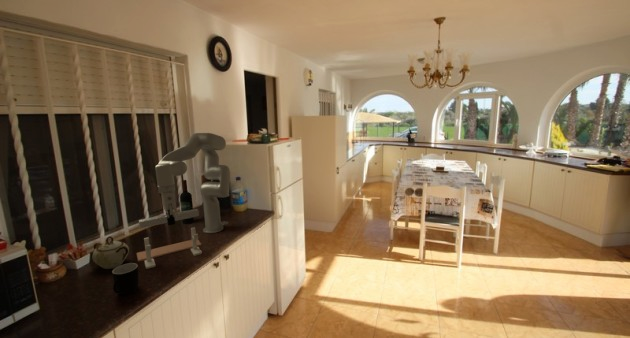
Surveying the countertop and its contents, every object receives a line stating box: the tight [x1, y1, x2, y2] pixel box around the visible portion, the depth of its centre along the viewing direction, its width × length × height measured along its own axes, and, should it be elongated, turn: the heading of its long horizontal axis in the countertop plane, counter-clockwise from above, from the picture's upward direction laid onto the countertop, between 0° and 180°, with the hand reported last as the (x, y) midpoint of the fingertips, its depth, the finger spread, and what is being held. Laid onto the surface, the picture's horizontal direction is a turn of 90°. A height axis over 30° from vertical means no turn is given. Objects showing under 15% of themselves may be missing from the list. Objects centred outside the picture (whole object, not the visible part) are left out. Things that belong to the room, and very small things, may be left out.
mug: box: [111, 262, 140, 296], centre depth 120 cm, size 12×9×10 cm
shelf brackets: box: [143, 227, 203, 270], centre depth 149 cm, size 26×8×13 cm, turn 125°
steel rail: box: [138, 208, 200, 229], centre depth 147 cm, size 27×3×3 cm, turn 125°
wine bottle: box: [179, 179, 195, 225], centre depth 199 cm, size 8×8×30 cm
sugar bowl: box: [91, 235, 130, 270], centre depth 143 cm, size 20×15×15 cm
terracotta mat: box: [136, 239, 202, 263], centre depth 160 cm, size 31×10×1 cm, turn 125°
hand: (170, 223), depth 147 cm, fingers closed on steel rail, 3 cm apart
